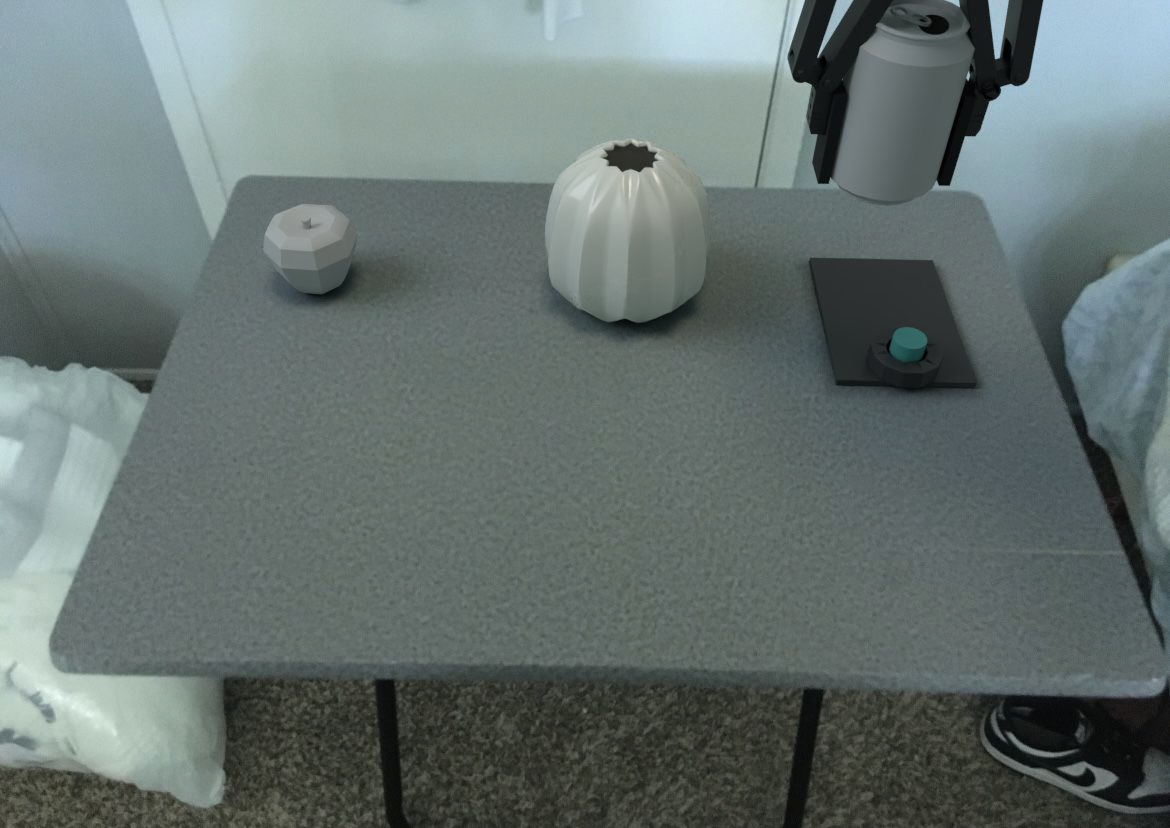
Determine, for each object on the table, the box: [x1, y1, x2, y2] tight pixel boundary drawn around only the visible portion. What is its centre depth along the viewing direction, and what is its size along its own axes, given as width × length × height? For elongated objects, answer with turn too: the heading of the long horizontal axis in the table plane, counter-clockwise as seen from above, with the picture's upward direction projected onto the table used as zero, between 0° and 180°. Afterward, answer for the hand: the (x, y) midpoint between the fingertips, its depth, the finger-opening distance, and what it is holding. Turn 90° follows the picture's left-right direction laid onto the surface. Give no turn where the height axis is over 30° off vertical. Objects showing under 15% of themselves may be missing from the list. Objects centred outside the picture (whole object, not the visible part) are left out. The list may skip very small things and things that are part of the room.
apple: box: [262, 203, 359, 295], centre depth 87 cm, size 8×8×7 cm
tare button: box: [889, 327, 927, 363], centre depth 81 cm, size 3×3×2 cm
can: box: [830, 0, 975, 207], centre depth 67 cm, size 8×8×12 cm
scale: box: [808, 257, 978, 389], centre depth 86 cm, size 17×11×2 cm, turn 179°
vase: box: [544, 137, 712, 324], centre depth 84 cm, size 14×14×13 cm
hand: (880, 173), depth 71 cm, fingers closed on can, 7 cm apart
